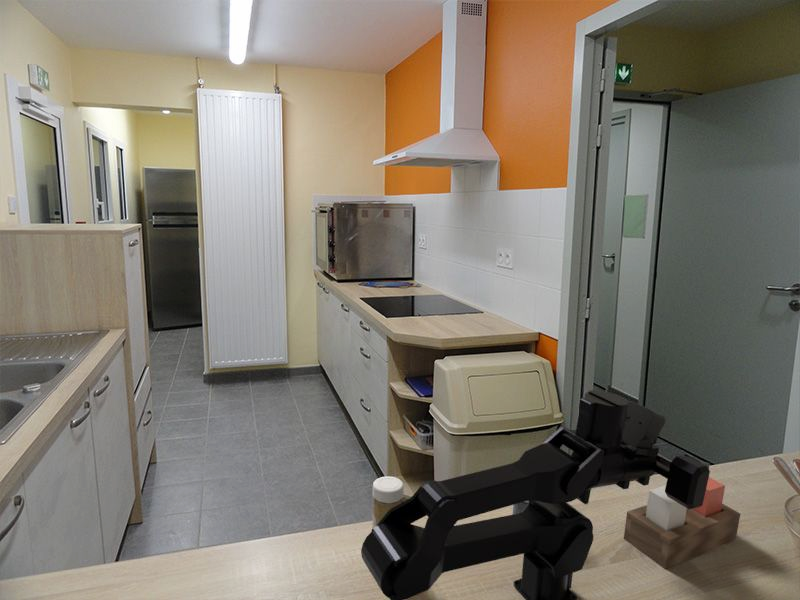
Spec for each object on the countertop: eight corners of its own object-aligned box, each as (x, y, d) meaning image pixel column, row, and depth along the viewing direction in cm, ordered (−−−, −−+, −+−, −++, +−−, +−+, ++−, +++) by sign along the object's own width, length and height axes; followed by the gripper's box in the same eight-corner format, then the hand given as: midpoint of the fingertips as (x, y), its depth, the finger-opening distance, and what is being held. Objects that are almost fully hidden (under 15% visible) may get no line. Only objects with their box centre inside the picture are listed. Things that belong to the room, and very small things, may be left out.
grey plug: (666, 532, 85) (670, 503, 84) (645, 518, 89) (649, 490, 88) (684, 525, 87) (688, 497, 86) (662, 512, 91) (666, 484, 90)
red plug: (704, 518, 89) (709, 490, 88) (682, 505, 93) (686, 478, 92) (720, 512, 91) (725, 485, 90) (698, 500, 95) (702, 473, 93)
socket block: (665, 569, 84) (669, 540, 83) (623, 538, 91) (627, 511, 90) (735, 540, 91) (740, 513, 90) (692, 514, 98) (696, 489, 97)
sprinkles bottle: (391, 577, 80) (393, 494, 78) (365, 566, 83) (366, 485, 80) (406, 559, 84) (409, 480, 81) (381, 549, 86) (383, 471, 84)
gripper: (677, 438, 69) (752, 428, 76) (571, 387, 85) (641, 383, 92) (660, 519, 71) (734, 501, 78) (560, 454, 87) (629, 444, 94)
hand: (680, 452), depth 85 cm, fingers open, 9 cm apart
